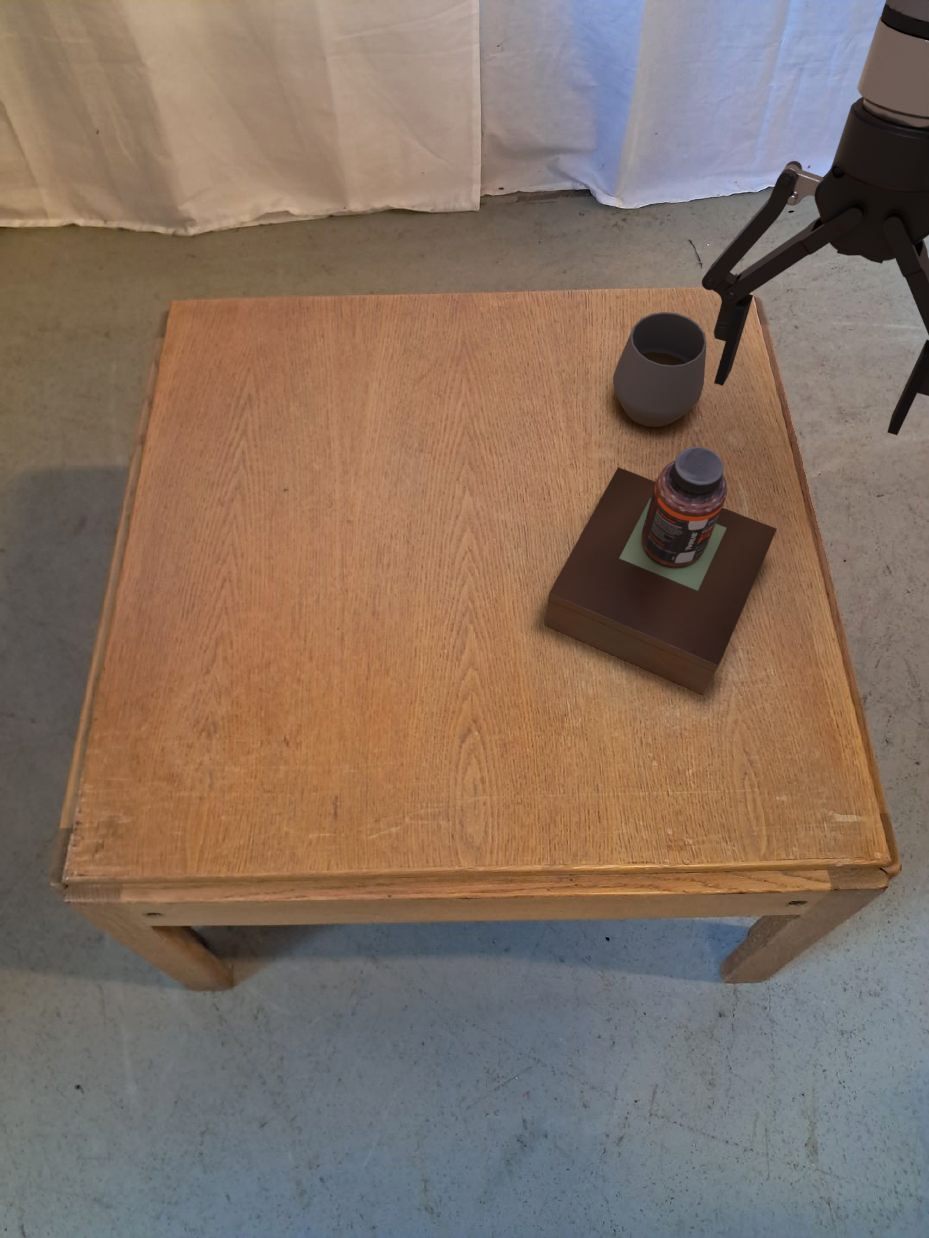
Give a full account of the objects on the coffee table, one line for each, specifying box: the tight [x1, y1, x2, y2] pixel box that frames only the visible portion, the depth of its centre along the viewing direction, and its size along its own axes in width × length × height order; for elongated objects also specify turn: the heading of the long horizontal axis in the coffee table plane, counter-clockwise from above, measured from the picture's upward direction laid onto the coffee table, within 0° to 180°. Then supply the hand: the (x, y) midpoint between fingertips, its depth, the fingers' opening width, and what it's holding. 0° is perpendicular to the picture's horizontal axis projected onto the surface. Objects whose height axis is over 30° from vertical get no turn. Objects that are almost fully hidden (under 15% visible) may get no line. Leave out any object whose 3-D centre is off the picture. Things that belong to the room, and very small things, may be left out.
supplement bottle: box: [642, 446, 728, 567], centre depth 79 cm, size 6×6×11 cm
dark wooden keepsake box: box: [544, 466, 778, 695], centre depth 86 cm, size 16×16×6 cm
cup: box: [612, 311, 708, 428], centre depth 95 cm, size 10×9×10 cm
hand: (806, 400), depth 72 cm, fingers open, 13 cm apart
